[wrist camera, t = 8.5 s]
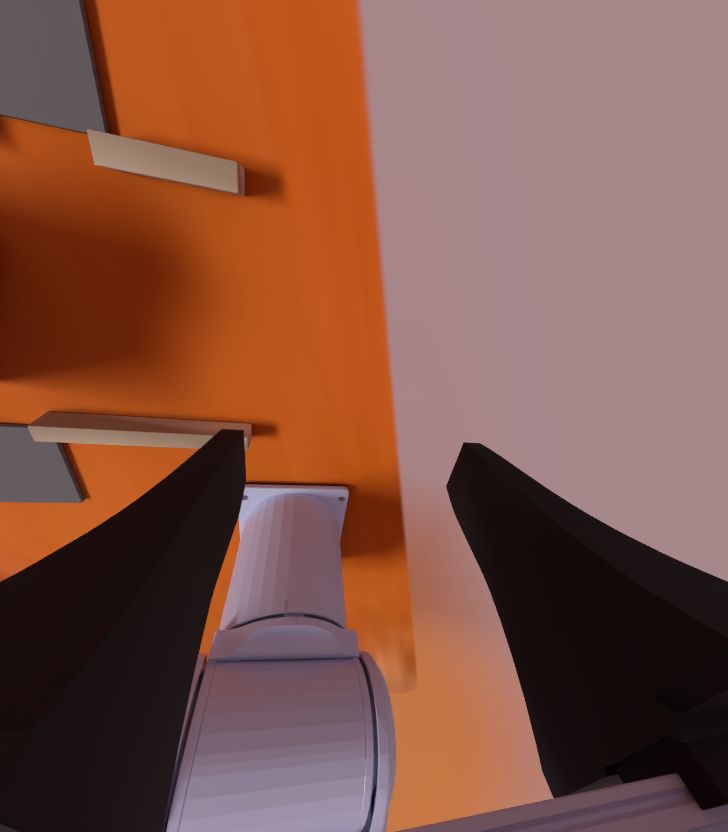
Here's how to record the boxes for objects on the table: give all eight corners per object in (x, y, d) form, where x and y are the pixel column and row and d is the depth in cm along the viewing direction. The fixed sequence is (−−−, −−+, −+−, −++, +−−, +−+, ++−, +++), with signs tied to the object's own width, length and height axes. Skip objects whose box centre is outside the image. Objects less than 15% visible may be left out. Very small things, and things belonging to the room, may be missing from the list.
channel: (251, 436, 20) (242, 466, 18) (-123, 416, 16) (-204, 451, 14) (244, 168, 13) (227, 154, 10) (-417, 24, 9) (-691, -52, 7)
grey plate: (85, 513, 21) (82, 516, 21) (-40, 492, 19) (-45, 496, 19) (125, -78, 10) (119, -86, 9) (-187, -306, 7) (-206, -326, 7)
